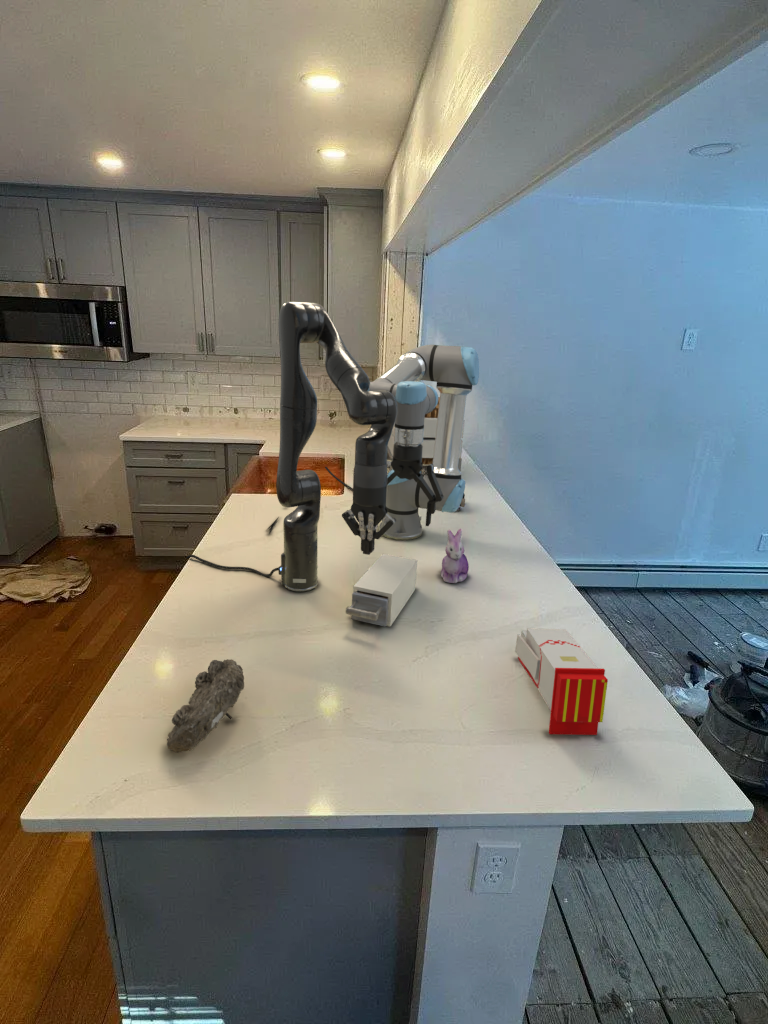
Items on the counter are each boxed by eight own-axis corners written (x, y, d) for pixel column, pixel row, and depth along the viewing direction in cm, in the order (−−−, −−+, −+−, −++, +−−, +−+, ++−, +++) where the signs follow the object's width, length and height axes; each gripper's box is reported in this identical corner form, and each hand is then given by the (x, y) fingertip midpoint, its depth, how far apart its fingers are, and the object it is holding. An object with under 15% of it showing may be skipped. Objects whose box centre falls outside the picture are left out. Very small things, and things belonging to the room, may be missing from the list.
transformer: (382, 463, 289) (386, 382, 275) (445, 464, 293) (451, 384, 279) (390, 482, 257) (394, 392, 243) (460, 483, 261) (468, 394, 247)
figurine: (450, 587, 163) (454, 538, 158) (431, 572, 171) (435, 526, 166) (477, 581, 167) (482, 534, 162) (457, 567, 175) (461, 522, 170)
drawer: (377, 638, 134) (378, 611, 132) (342, 630, 137) (343, 604, 135) (410, 590, 158) (411, 567, 155) (379, 584, 160) (380, 561, 158)
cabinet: (390, 626, 141) (392, 594, 138) (352, 618, 145) (353, 585, 141) (415, 589, 161) (417, 559, 158) (381, 582, 164) (382, 553, 161)
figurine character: (465, 515, 224) (460, 499, 237) (467, 498, 221) (462, 483, 234) (448, 515, 224) (444, 499, 237) (450, 498, 220) (445, 482, 234)
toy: (561, 612, 132) (617, 675, 103) (556, 665, 135) (608, 741, 106) (510, 611, 132) (551, 674, 102) (505, 664, 134) (544, 741, 105)
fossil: (192, 660, 117) (244, 628, 112) (224, 691, 120) (276, 661, 115) (142, 746, 98) (202, 712, 93) (182, 779, 101) (242, 748, 96)
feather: (286, 511, 220) (288, 507, 220) (268, 535, 193) (271, 531, 193) (282, 508, 220) (285, 504, 219) (263, 533, 193) (266, 528, 193)
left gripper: (335, 482, 125) (334, 554, 130) (392, 490, 121) (389, 564, 126) (349, 473, 131) (347, 542, 137) (403, 481, 127) (399, 552, 133)
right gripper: (357, 441, 146) (355, 518, 153) (453, 452, 139) (446, 532, 146) (367, 435, 152) (364, 509, 160) (458, 445, 146) (451, 523, 153)
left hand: (367, 553), depth 132 cm, fingers closed
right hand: (403, 520), depth 153 cm, fingers open, 13 cm apart
